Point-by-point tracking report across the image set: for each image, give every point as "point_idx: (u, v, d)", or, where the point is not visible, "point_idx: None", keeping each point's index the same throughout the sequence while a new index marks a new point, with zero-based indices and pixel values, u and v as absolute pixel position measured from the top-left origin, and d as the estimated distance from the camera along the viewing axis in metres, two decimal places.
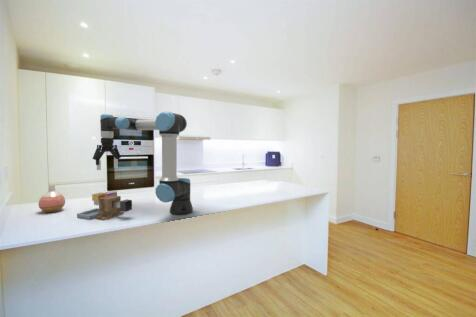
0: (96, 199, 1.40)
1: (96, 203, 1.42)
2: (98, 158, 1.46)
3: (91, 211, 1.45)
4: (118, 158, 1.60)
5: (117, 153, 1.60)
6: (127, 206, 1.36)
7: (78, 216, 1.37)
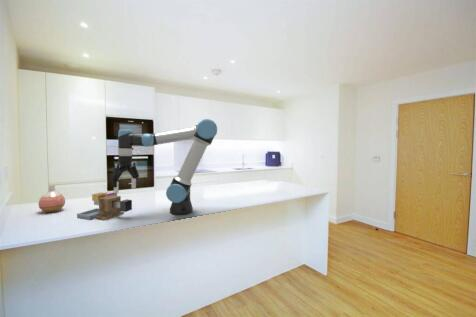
0: (96, 199, 1.40)
1: (96, 203, 1.42)
2: (116, 180, 1.28)
3: (91, 211, 1.45)
4: (136, 177, 1.43)
5: (135, 172, 1.43)
6: (127, 206, 1.36)
7: (78, 216, 1.37)
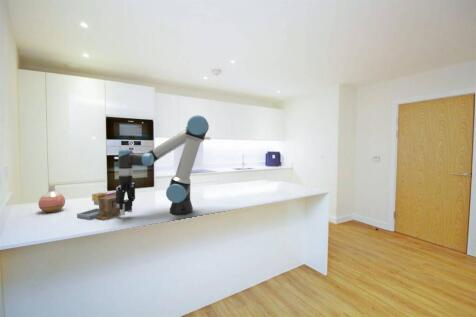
0: (96, 199, 1.40)
1: (96, 203, 1.42)
2: (122, 202, 1.33)
3: (91, 211, 1.45)
4: (132, 200, 1.40)
5: (133, 193, 1.41)
6: (127, 206, 1.36)
7: (78, 216, 1.37)
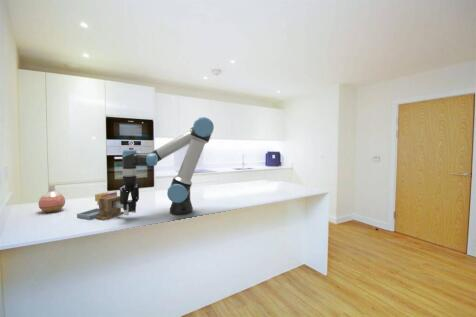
0: None
1: None
2: (126, 203, 1.32)
3: (91, 211, 1.45)
4: (136, 201, 1.39)
5: (136, 194, 1.40)
6: (131, 207, 1.35)
7: (78, 216, 1.37)
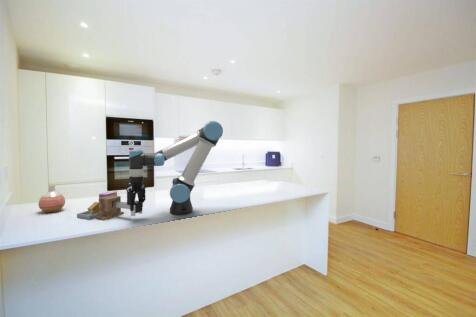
0: (91, 210, 1.39)
1: None
2: (132, 204, 1.30)
3: None
4: (142, 202, 1.38)
5: (143, 194, 1.39)
6: (138, 208, 1.33)
7: (78, 216, 1.37)
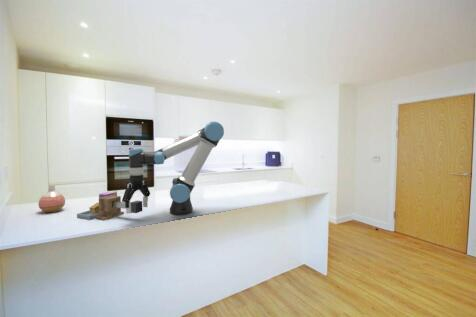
0: (93, 210, 1.40)
1: None
2: (128, 200, 1.26)
3: None
4: (148, 195, 1.41)
5: (146, 190, 1.41)
6: (138, 208, 1.33)
7: (78, 216, 1.37)
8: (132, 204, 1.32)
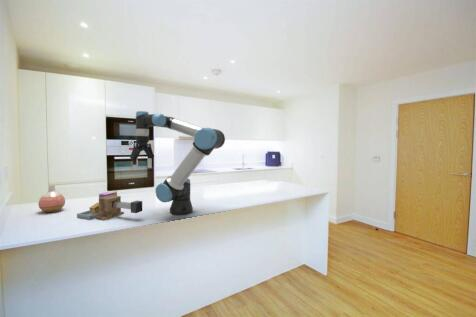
0: (93, 210, 1.40)
1: None
2: (136, 157, 1.37)
3: None
4: (152, 157, 1.52)
5: (151, 152, 1.52)
6: (138, 208, 1.33)
7: (78, 216, 1.37)
8: (132, 204, 1.32)
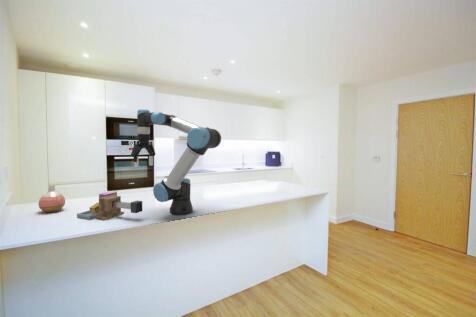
0: (93, 210, 1.40)
1: None
2: (136, 155, 1.40)
3: None
4: (153, 155, 1.55)
5: (152, 150, 1.55)
6: (138, 208, 1.33)
7: (78, 216, 1.37)
8: (132, 204, 1.32)
